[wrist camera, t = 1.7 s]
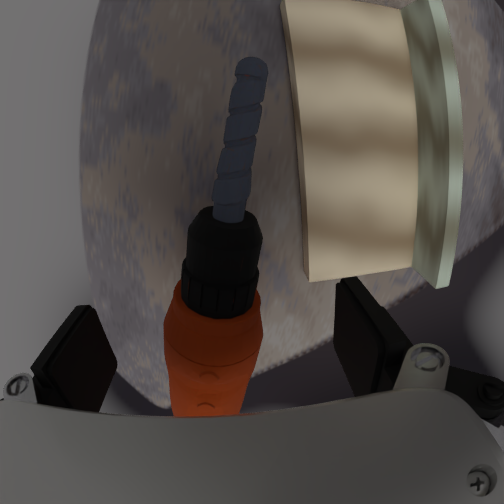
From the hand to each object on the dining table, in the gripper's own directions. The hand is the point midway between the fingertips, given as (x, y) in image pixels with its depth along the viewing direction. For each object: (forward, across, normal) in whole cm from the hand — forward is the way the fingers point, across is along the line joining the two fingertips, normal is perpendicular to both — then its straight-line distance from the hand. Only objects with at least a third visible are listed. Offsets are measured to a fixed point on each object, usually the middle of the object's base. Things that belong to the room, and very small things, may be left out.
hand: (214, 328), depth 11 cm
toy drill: (+13, 0, 0) cm, 13 cm away
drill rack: (+13, -12, -6) cm, 18 cm away
